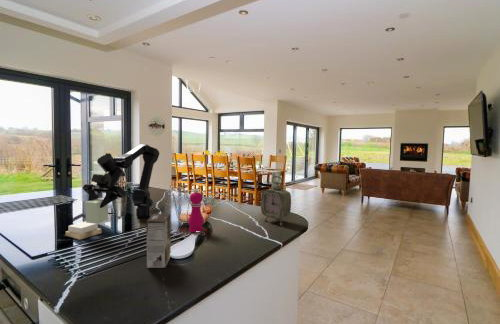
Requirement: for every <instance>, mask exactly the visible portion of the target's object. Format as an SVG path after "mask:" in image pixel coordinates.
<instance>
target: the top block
mask: <svg viewBox="0 0 500 324" xmlns="http://www.w3.org/2000/svg"><path fill="white" fill-rule="evenodd" d="M98 225H99V223H98V224H95V223H86V220H85V221H81V222H78V223H74V224H70V225H68V230H67V231H68V232H73V233H79V234H83V233H86V232H89V231H92V230H95V229H98V228H99V226H98Z"/></svg>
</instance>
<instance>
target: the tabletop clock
mask: <svg viewBox="0 0 500 324" xmlns="http://www.w3.org/2000/svg"><path fill="white" fill-rule="evenodd" d="M274 178H278V179H280V180H281V181H280V182H278V180H277V181H273V179H274ZM271 181H272V183H273V186H272V188H269V189H265V190H262V192H261V197H260V208H261V210H260V211H261V214H262V215H263V216H265V217H264V218H263V221H264V222H267V220H268V219H267V218H271V219H276V222H279V226H283V225H284V223H283V222H282V219H283V218H285V217H288V216H290V213H291V209H292V208H291V207H292V194H291V192H289V191H288V190H286V189H282V186H281V185H282V183H283V178H282V177H281V176H278V175H275V176H272V178H271Z"/></svg>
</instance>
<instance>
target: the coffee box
mask: <svg viewBox="0 0 500 324" xmlns="http://www.w3.org/2000/svg"><path fill="white" fill-rule="evenodd" d="M171 238H172V237H171V214H169V213H168V214H167V213H166V214H164V213H153V214H152V215H150V217H148V219H147V220H146V268H148V269H151V268H153V269H154V268H159V269H160V268H163V269H164V268H166V267H167V265H168V264H169V263H168V262H169V260H170V258H171V257H170V253H171V251H172V250H171V249H172V248H171V241H172V240H171ZM171 254H172V253H171Z"/></svg>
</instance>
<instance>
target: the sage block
mask: <svg viewBox="0 0 500 324" xmlns="http://www.w3.org/2000/svg"><path fill="white" fill-rule="evenodd" d="M102 201H103V199H101V198H98V199H94V200H91V201H88V200H87V201H85V202H84V203H85V205H84V207H85V221H86V223H95V224H98V225H99V224H101V223H103V222H106V221H108V220H109V204H107V205H106V206H104V207H103V208H100V205H101V203H102Z"/></svg>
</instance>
